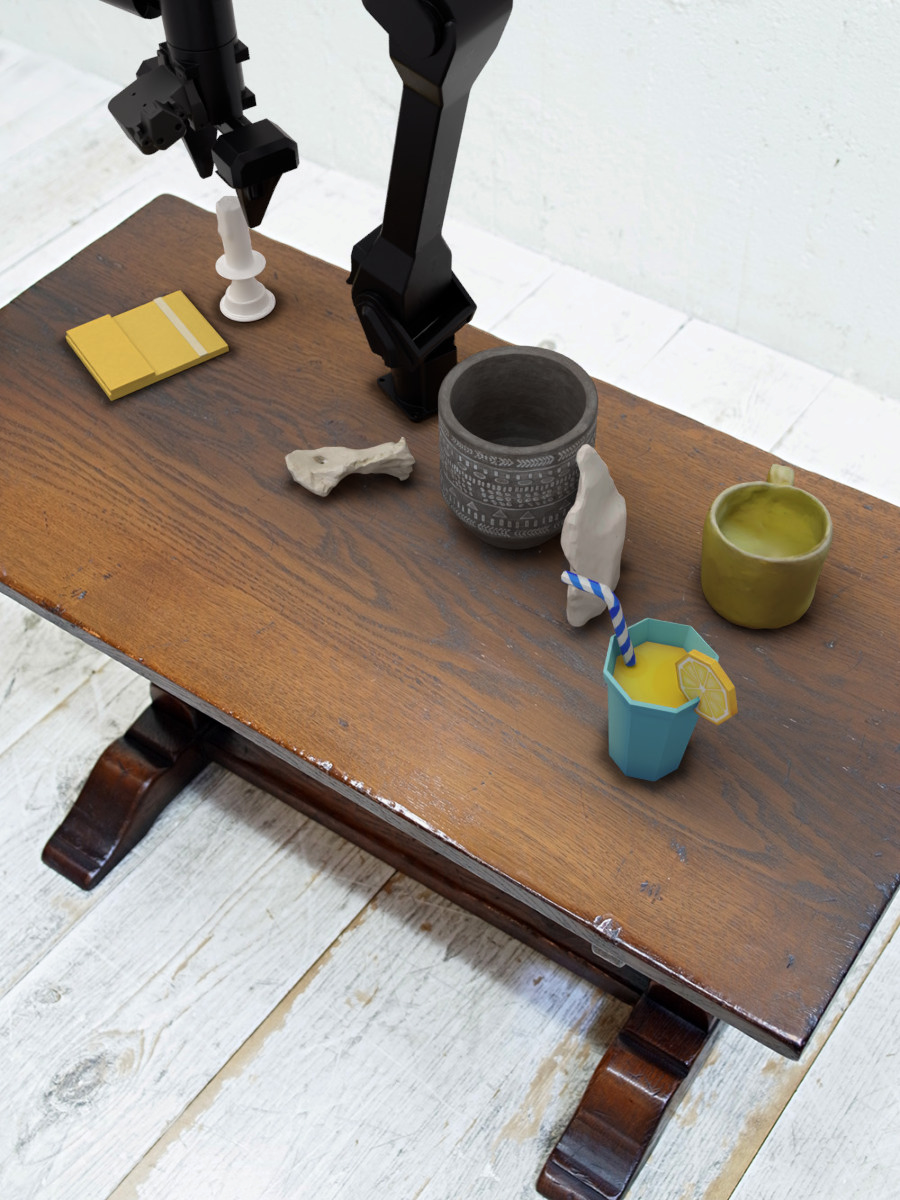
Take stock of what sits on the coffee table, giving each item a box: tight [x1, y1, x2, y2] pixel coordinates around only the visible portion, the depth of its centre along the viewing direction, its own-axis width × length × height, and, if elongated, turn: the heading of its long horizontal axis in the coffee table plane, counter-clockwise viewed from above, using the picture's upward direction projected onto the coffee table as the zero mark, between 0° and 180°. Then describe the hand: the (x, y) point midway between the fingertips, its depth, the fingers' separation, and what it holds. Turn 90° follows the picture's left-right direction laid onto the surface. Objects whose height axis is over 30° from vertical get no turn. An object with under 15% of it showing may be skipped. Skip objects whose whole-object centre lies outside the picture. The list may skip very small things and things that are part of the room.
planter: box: [437, 344, 599, 550], centre depth 102 cm, size 12×12×13 cm
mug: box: [700, 463, 834, 630], centre depth 99 cm, size 12×10×10 cm
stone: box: [560, 444, 628, 627], centre depth 96 cm, size 11×4×15 cm, turn 167°
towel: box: [65, 289, 230, 402], centre depth 120 cm, size 10×12×1 cm
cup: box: [560, 570, 739, 782], centre depth 87 cm, size 14×8×15 cm, turn 53°
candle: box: [215, 195, 276, 323], centre depth 120 cm, size 5×5×12 cm
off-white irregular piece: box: [284, 436, 416, 498], centre depth 108 cm, size 6×10×4 cm, turn 104°
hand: (229, 201), depth 116 cm, fingers open, 9 cm apart
